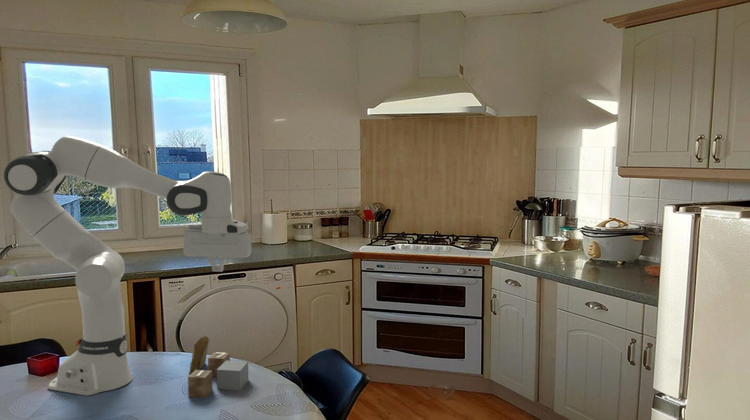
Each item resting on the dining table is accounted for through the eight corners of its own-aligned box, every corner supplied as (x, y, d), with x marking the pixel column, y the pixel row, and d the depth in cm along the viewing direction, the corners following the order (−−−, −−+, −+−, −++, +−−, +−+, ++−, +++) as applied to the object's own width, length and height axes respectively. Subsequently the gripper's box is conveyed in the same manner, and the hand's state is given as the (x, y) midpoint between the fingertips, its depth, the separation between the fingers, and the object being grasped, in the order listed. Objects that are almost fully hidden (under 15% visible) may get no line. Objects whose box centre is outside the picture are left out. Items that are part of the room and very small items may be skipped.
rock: (200, 371, 165) (221, 355, 174) (184, 348, 166) (206, 334, 174) (181, 385, 170) (202, 369, 179) (165, 363, 170) (188, 348, 179)
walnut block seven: (208, 376, 167) (207, 357, 166) (214, 370, 172) (214, 351, 171) (224, 377, 166) (223, 358, 166) (230, 371, 171) (229, 352, 170)
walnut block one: (188, 397, 153) (187, 376, 152) (195, 389, 158) (195, 369, 157) (205, 398, 152) (205, 377, 152) (212, 390, 157) (212, 369, 157)
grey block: (217, 389, 158) (216, 369, 158) (226, 379, 165) (225, 360, 165) (240, 390, 157) (239, 370, 157) (248, 380, 164) (248, 361, 164)
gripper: (178, 226, 160) (180, 272, 161) (246, 227, 158) (246, 274, 159) (188, 223, 166) (189, 267, 167) (253, 225, 164) (253, 269, 165)
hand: (217, 271), depth 163 cm, fingers closed
